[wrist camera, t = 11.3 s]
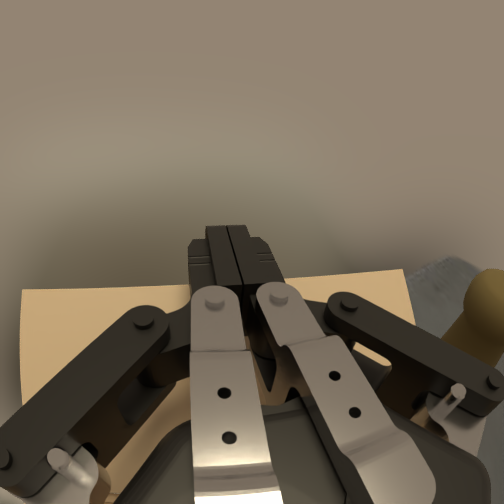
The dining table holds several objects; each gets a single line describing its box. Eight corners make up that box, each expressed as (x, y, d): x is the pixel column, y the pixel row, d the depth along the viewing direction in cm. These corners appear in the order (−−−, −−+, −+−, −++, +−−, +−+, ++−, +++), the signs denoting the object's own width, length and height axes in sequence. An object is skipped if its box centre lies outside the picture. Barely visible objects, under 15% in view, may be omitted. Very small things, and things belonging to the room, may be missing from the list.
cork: (456, 437, 16) (552, 332, 10) (392, 405, 19) (471, 287, 13) (470, 382, 20) (541, 280, 14) (415, 354, 23) (475, 244, 17)
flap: (35, 482, 7) (22, 289, 10) (38, 480, 8) (25, 291, 11) (430, 429, 11) (402, 269, 14) (426, 429, 11) (398, 271, 14)
